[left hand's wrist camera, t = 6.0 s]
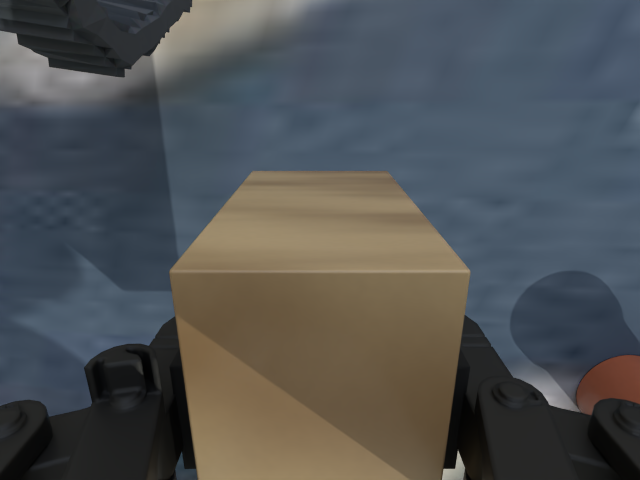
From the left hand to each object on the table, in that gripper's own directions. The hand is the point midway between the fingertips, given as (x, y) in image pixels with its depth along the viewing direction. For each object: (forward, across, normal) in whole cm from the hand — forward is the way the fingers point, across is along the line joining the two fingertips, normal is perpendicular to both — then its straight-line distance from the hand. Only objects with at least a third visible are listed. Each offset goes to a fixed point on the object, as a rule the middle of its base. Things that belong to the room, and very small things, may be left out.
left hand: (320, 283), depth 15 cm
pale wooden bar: (0, 0, +9) cm, 9 cm away
